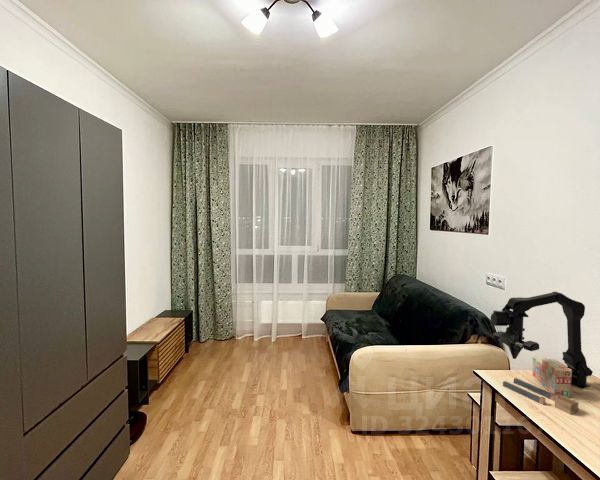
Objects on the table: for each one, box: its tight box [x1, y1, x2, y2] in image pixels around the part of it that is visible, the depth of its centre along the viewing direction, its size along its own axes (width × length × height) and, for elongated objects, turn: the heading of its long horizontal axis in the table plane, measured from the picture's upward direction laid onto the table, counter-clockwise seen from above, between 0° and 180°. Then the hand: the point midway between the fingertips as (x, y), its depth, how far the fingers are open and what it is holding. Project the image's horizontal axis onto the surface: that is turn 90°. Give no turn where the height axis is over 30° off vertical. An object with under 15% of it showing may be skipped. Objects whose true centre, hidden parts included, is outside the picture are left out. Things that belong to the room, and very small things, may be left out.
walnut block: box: [553, 396, 579, 416], centre depth 144 cm, size 5×6×4 cm
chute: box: [502, 377, 557, 405], centre depth 158 cm, size 9×18×2 cm, turn 24°
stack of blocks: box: [532, 356, 572, 398], centre depth 164 cm, size 21×6×12 cm, turn 170°
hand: (514, 358), depth 165 cm, fingers closed
